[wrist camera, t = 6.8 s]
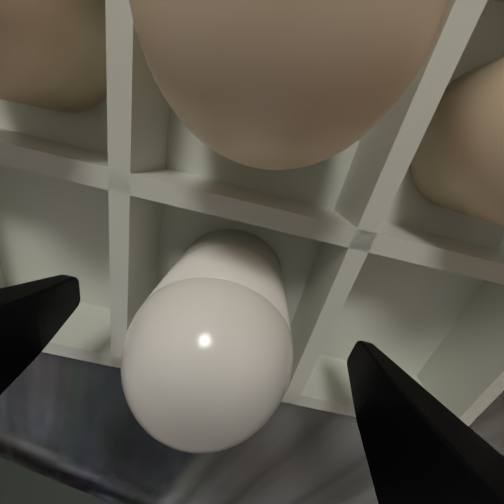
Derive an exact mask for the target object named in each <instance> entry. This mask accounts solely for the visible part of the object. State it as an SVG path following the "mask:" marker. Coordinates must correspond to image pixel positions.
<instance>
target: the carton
mask: <svg viewBox="0 0 504 504" xmlns="http://www.w3.org/2000/svg"><path fill="white" fill-rule="evenodd" d="M220 229H238V230H243V231H246V232H249V233H252V234H254V235H256V236H258V237H259V238H261V239H262V240H264V241H265V242H266V243H267V244H268V245H269V246H270V247H271V248H272V249H273V251H274V252H275V253H276V255H277V257H278V259H279V261H280V264H281V268H282V273H283V280H284V287H285V294H286V301H287V307H288V314H289V321H290V328H291V335H292V343H293V364H292V372H291V377H290V380H289V384H288V387H287V390H286V393H285V395H284V397H283V399H282V401H281V402H285V403H289V404H294V405H299V406H304V407H309V408H313V409H318V410H323V411H328V412H333V413H337V414H342V415H347V416H352V417H356V415H355V410H354V405H353V399H352V393H351V387H350V381H349V375H348V369H347V359H348V357H349V355H350V353H351V351H352V349H353V347H354V346H355V344H356V342H357V341H360V340H361V341H366V342H370V343H372V344H374V345H375V346H376V347H377V348H378V349H379V350H381V351H382V352H383V353H384V354H385V355H386V356H388V357H389V358H390V359H391V360H392V361H393V362H394V363H396V364H397V365H398V366H399V367H400V368H401V369H403V370H404V371H405V372H406V373H407V374H408V375H409V376H411V377H412V378H413V379H414V380H415V381H416V382H418V383H419V384H420V385H421V386H422V387H423V388H425V389H426V390H427V391H428V392H429V393H430V394H431V395H433V396H434V397H435V398H436V399H437V400H438V401H440V402H441V403H442V404H443V405H444V406H445V407H446V408H448V409H449V410H450V411H451V412H452V413H453V414H455V415H456V416H457V417H458V418H459V419H460V420H462V421H463V422H464V423H465V424H466V425H467V426H469V425H470V424H471V423H472V422H473V421H474V420H475V419H476V418H477V417H478V416H479V415H480V414H481V413H482V412H483V411H484V410H485V409H486V408H487V407H488V406H489V405H490V404H491V403H492V402H493V401H494V400H495V399H496V398H497V397H498V396H499V395H500V394H501V393H502V392H503V391H504V0H0V288H4V287H9V286H13V285H17V284H22V283H26V282H31V281H35V280H39V279H44V278H48V277H53V276H57V275H69V276H73V277H76V278H78V280H79V287H80V303H79V305H78V307H77V308H76V310H75V311H74V312H73V313H72V315H71V316H70V317H69V318H68V320H67V321H66V322H65V323H64V325H63V326H62V327H61V328H60V330H59V331H58V332H57V333H56V335H55V336H54V337H53V338H52V340H51V341H50V342H49V343H48V345H47V346H46V347H45V348H44V349H43V350H42V352H45V353H49V354H54V355H59V356H64V357H69V358H73V359H78V360H83V361H88V362H93V363H97V364H102V365H107V366H112V367H117V368H120V365H121V354H122V347H123V343H124V340H125V336H126V333H127V330H128V328H129V326H130V323H131V321H132V319H133V318H134V316H135V314H136V312H137V311H138V310H139V308H140V307H141V305H142V304H143V303H144V301H145V300H146V299H147V298H148V296H149V295H150V294H151V293H152V292H153V290H154V289H155V288H156V287H157V286H158V284H159V283H160V282H161V281H162V279H163V278H164V277H165V276H166V275H167V273H168V272H169V271H170V270H171V269H172V267H173V266H174V265H175V264H176V263H177V261H178V260H179V259H180V258H181V256H182V255H183V254H184V253H185V252H186V250H187V249H188V248H189V247H190V246H191V244H192V243H193V242H194V241H195V240H197V239H198V238H199V237H201V236H203V235H205V234H206V233H209V232H212V231H215V230H220Z"/></svg>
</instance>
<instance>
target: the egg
mask: <svg viewBox="0 0 504 504" xmlns="http://www.w3.org/2000/svg"><path fill="white" fill-rule="evenodd" d="M292 364H293V343H292V335H291V328H290V321H289V314H288V307H287V301H286V294H285V287H284V280H283V273H282V268H281V264H280V261H279V259H278V257H277V255H276V253H275V252H274V251H273V249H272V248H271V247H270V246H269V245H268V244H267V243H266V242H265V241H264V240H262V239H261V238H259V237H258V236H256V235H254V234H252V233H249V232H246V231H243V230H238V229H220V230H215V231H212V232H209V233H206V234H205V235H203V236H201V237H199V238H198V239H197V240H195V241H194V242H193V243H192V244H191V246H190V247H189V248H188V249H187V250H186V252H185V253H184V254H183V255H182V256H181V258H180V259H179V260H178V261H177V263H176V264H175V265H174V266H173V267H172V269H171V270H170V271H169V272H168V273H167V275H166V276H165V277H164V278H163V279H162V281H161V282H160V283H159V284H158V286H157V287H156V288H155V289H154V290H153V292H152V293H151V294H150V295H149V296H148V298H147V299H146V300H145V301H144V303H143V304H142V305H141V307H140V308H139V310H138V311H137V312H136V314H135V316H134V318H133V319H132V321H131V323H130V326H129V328H128V330H127V333H126V336H125V340H124V343H123V347H122V354H121V365H120V370H121V381H122V387H123V391H124V395H125V398H126V401H127V404H128V406H129V408H130V410H131V412H132V413H133V415H134V417H135V418H136V420H137V422H138V423H139V424H140V425H141V426H142V427H143V428H144V429H145V430H146V431H147V432H148V433H149V434H150V435H151V436H152V437H153V438H155V439H156V440H157V441H159V442H161V443H162V444H164V445H166V446H169V447H171V448H174V449H176V450H179V451H183V452H189V453H213V452H219V451H222V450H225V449H228V448H231V447H234V446H236V445H238V444H240V443H242V442H244V441H245V440H247V439H248V438H250V437H251V436H253V435H254V434H255V433H257V432H258V431H259V430H260V429H261V428H262V427H263V426H264V425H265V424H266V423H267V422H268V421H269V419H270V418H271V417H272V416H273V414H274V413H275V411H276V410H277V408H278V407H279V405H280V403H281V401H282V399H283V397H284V395H285V393H286V390H287V387H288V384H289V380H290V377H291V372H292Z"/></svg>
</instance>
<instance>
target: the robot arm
mask: <svg viewBox="0 0 504 504" xmlns="http://www.w3.org/2000/svg"><path fill="white" fill-rule="evenodd" d="M79 303H80V287H79V280H78V278H76V277H73V276H69V275H57V276H53V277H48V278H44V279H39V280H35V281H31V282H26V283H22V284H17V285H13V286H9V287H4V288H0V395H1V394H2V393H3V392H4V391H5V389H6V388H7V387H8V386H9V385H10V384H11V383H12V382H13V381H14V380H15V379H16V378H17V377H18V376H19V375H20V374H21V373H22V372H23V371H24V370H25V369H26V368H27V366H28V365H29V364H30V363H31V362H32V361H33V360H34V359H35V358H36V357H37V356H38V355H39V354H40V353H41V352H42V350H43V349H44V348H45V347H46V346H47V345H48V343H49V342H50V341H51V340H52V338H53V337H54V336H55V335H56V333H57V332H58V331H59V330H60V328H61V327H62V326H63V325H64V323H65V322H66V321H67V320H68V318H69V317H70V316H71V315H72V313H73V312H74V311H75V310H76V308H77V307H78V305H79ZM347 369H348V375H349V381H350V387H351V393H352V399H353V405H354V410H355V415H356V419H357V423H358V427H359V431H360V435H361V439H362V442H363V446H364V450H365V454H366V458H367V461H368V465H369V469H370V473H371V477H372V480H373V484H374V488H375V492H376V495H377V499H378V503H379V504H504V457H503V456H502V455H501V454H500V453H499V452H497V451H496V450H495V449H494V448H493V447H492V446H490V445H489V444H488V443H487V442H486V441H485V440H484V439H482V438H481V437H480V436H479V435H478V434H477V433H475V432H474V431H473V430H472V429H471V428H470V427H468V426H467V425H466V424H465V423H464V422H463V421H462V420H460V419H459V418H458V417H457V416H456V415H455V414H453V413H452V412H451V411H450V410H449V409H448V408H446V407H445V406H444V405H443V404H442V403H441V402H440V401H438V400H437V399H436V398H435V397H434V396H433V395H431V394H430V393H429V392H428V391H427V390H426V389H425V388H423V387H422V386H421V385H420V384H419V383H418V382H416V381H415V380H414V379H413V378H412V377H411V376H409V375H408V374H407V373H406V372H405V371H404V370H403V369H401V368H400V367H399V366H398V365H397V364H396V363H394V362H393V361H392V360H391V359H390V358H389V357H388V356H386V355H385V354H384V353H383V352H382V351H381V350H379V349H378V348H377V347H376V346H375V345H374V344H372V343H370V342H366V341H361V340H360V341H357V342H356V344H355V346H354V347H353V349H352V351H351V353H350V355H349V357H348V359H347Z"/></svg>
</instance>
